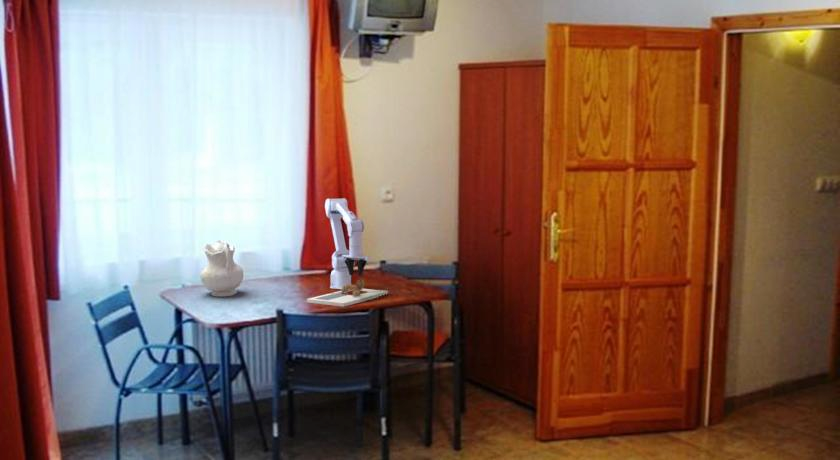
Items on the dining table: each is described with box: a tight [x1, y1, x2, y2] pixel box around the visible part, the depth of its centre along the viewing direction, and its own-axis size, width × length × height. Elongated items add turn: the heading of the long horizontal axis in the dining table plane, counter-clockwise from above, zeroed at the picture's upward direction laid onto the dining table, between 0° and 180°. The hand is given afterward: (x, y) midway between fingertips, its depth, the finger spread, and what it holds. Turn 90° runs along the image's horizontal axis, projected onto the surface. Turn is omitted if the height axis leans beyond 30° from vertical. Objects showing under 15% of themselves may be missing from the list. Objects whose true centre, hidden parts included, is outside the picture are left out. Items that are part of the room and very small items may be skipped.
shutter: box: [352, 289, 389, 299], centre depth 363 cm, size 6×20×3 cm, turn 149°
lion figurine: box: [341, 279, 365, 295], centre depth 370 cm, size 12×4×7 cm, turn 115°
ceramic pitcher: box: [200, 240, 244, 297], centre depth 370 cm, size 22×20×25 cm
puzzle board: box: [306, 288, 388, 308], centre depth 364 cm, size 20×36×2 cm, turn 149°
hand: (355, 275), depth 371 cm, fingers open, 4 cm apart
